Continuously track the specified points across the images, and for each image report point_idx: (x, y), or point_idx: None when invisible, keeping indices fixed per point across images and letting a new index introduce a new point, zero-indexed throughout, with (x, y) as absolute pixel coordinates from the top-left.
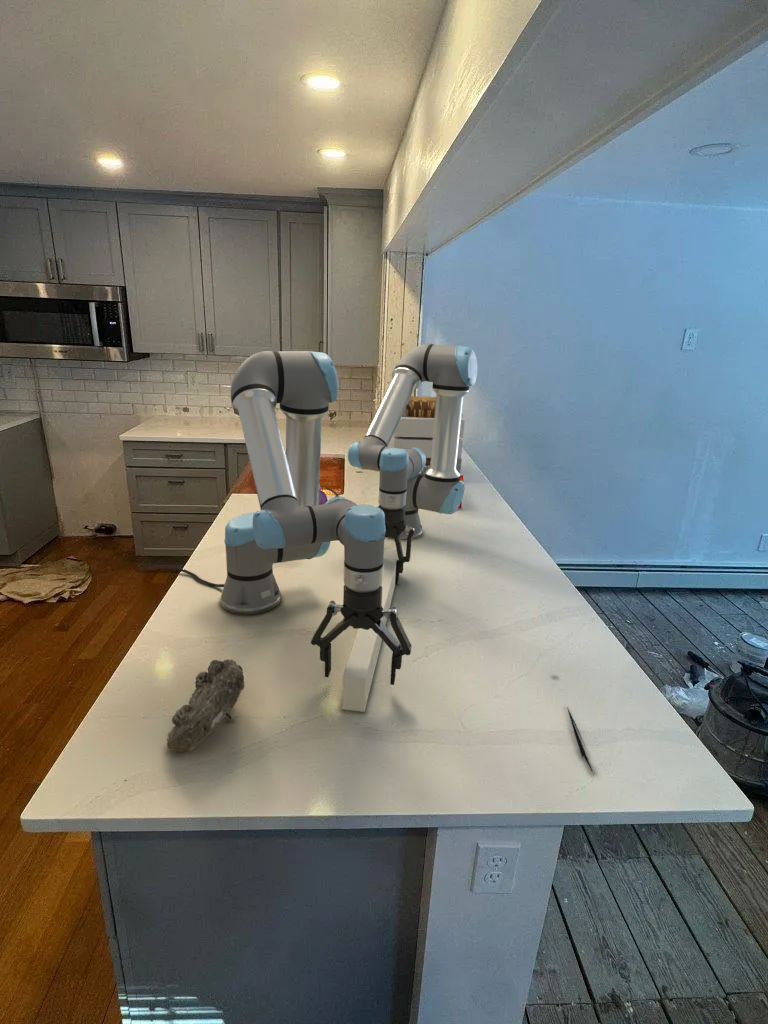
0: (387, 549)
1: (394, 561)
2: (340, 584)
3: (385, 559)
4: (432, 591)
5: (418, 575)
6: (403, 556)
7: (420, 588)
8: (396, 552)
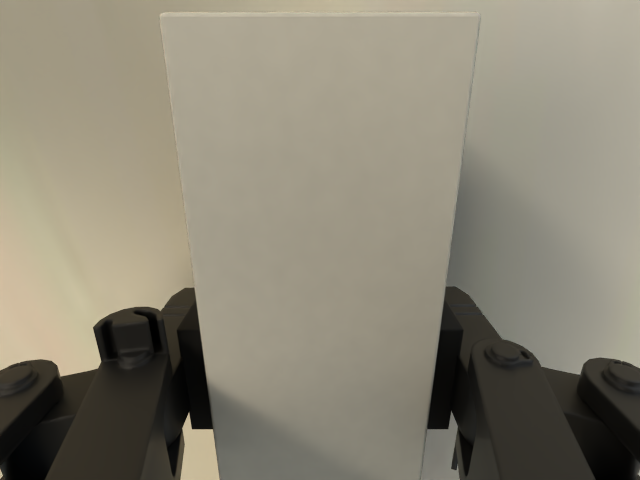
0: (231, 59)
1: (399, 465)
2: (12, 330)
3: (274, 438)
4: (632, 304)
5: (573, 56)
6: (547, 394)
7: (554, 280)
8: (421, 166)
